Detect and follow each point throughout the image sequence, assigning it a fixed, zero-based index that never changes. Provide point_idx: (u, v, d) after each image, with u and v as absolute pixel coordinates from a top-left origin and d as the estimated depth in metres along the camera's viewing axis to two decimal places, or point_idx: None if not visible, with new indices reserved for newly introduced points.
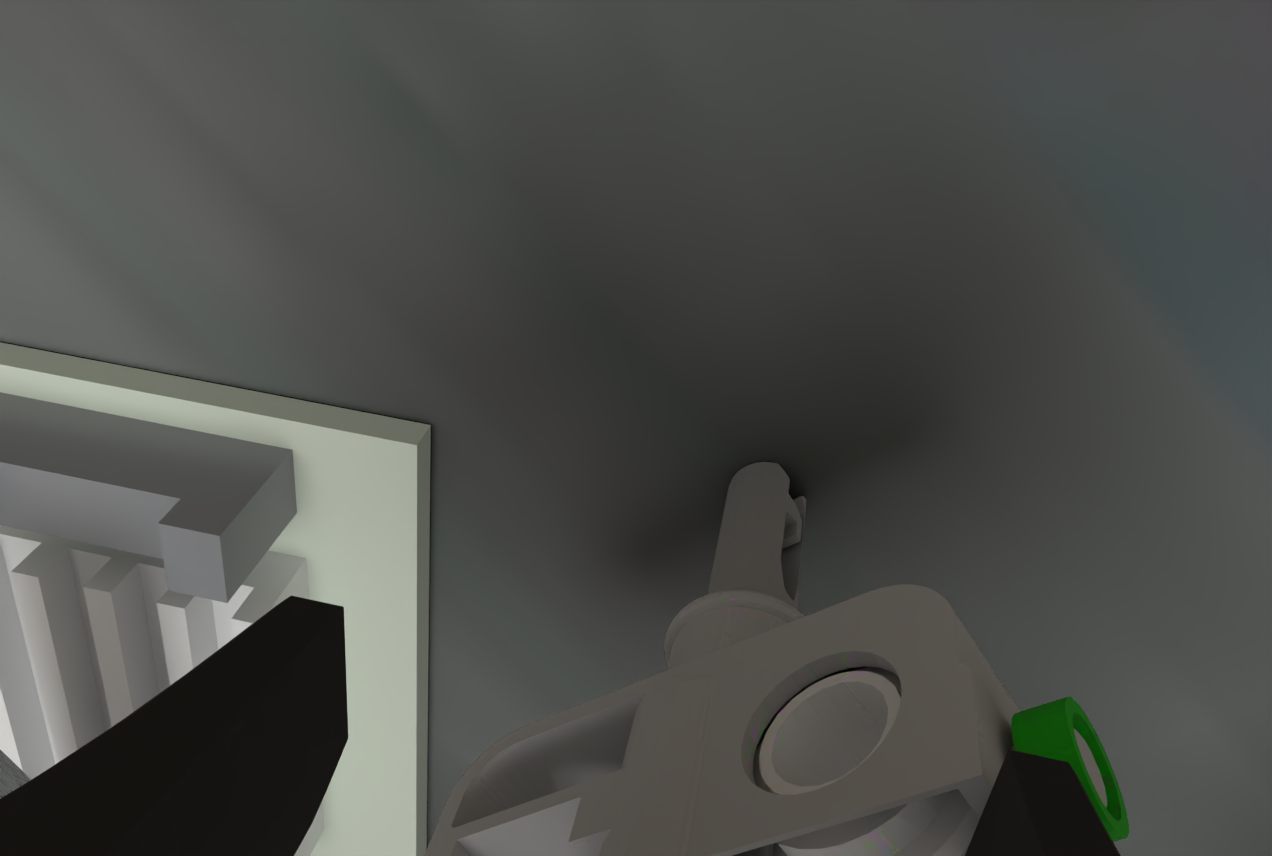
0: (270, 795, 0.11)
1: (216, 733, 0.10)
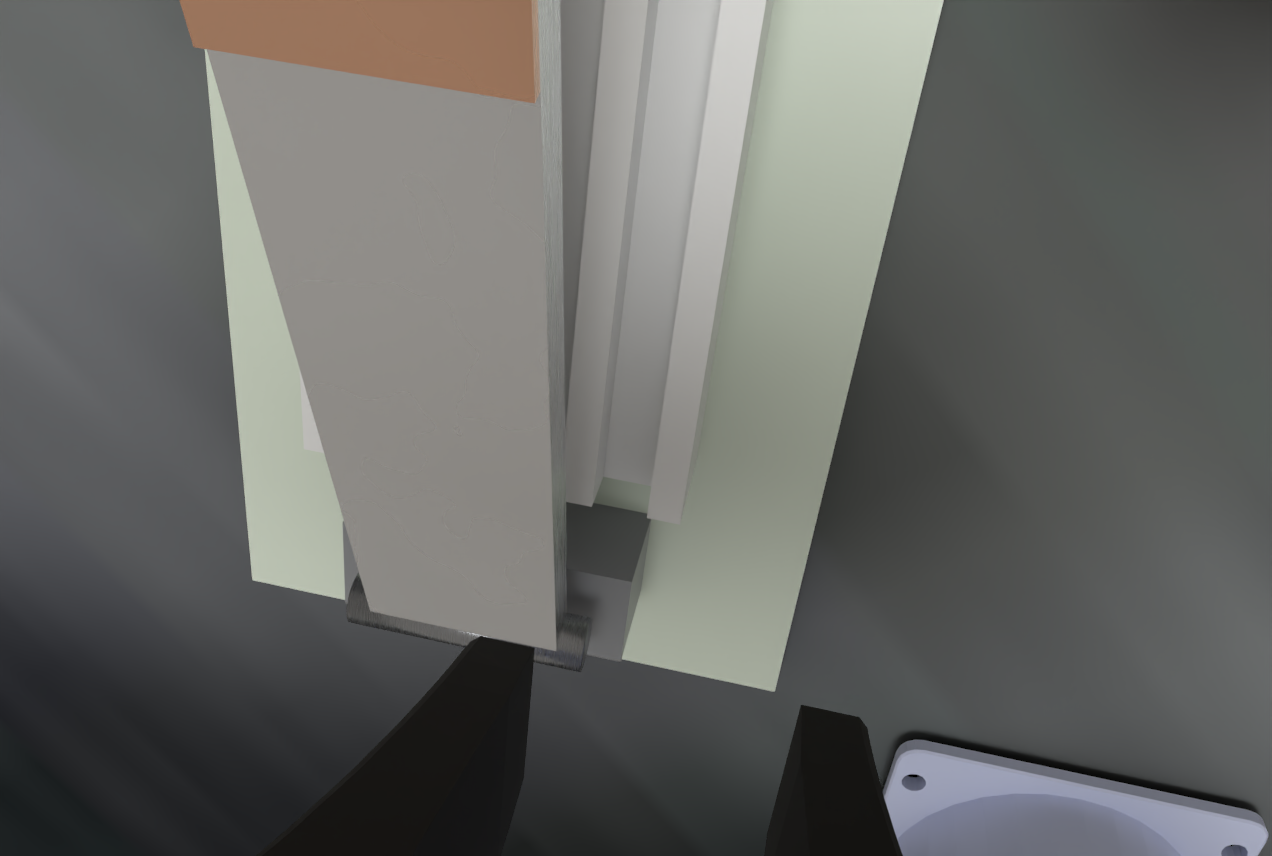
0: (476, 843, 0.11)
1: (449, 786, 0.09)
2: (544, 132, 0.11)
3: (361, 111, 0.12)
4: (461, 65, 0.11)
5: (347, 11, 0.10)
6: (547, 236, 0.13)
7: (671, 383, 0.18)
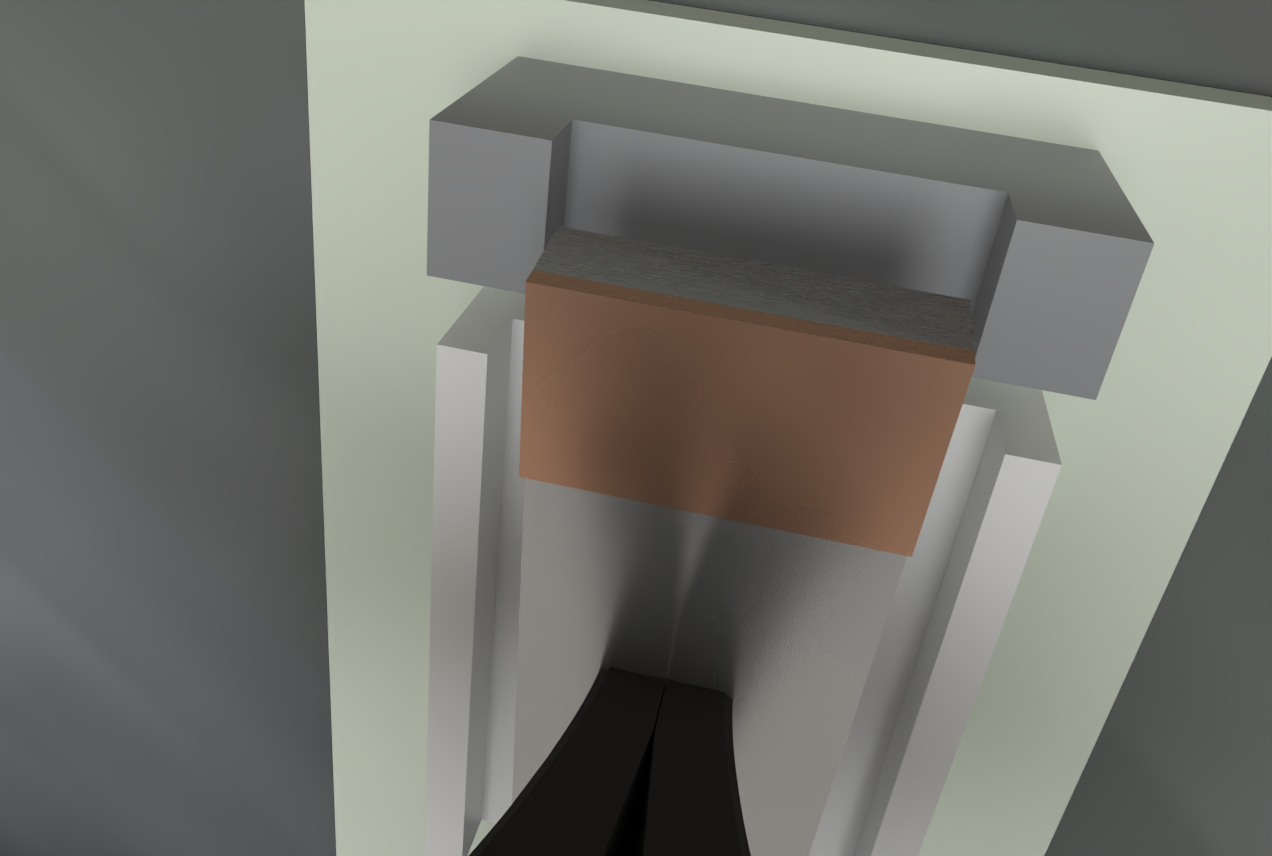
0: None
1: (611, 823, 0.09)
2: (897, 578, 0.10)
3: (688, 546, 0.10)
4: (835, 515, 0.09)
5: (718, 456, 0.09)
6: None
7: (882, 839, 0.15)
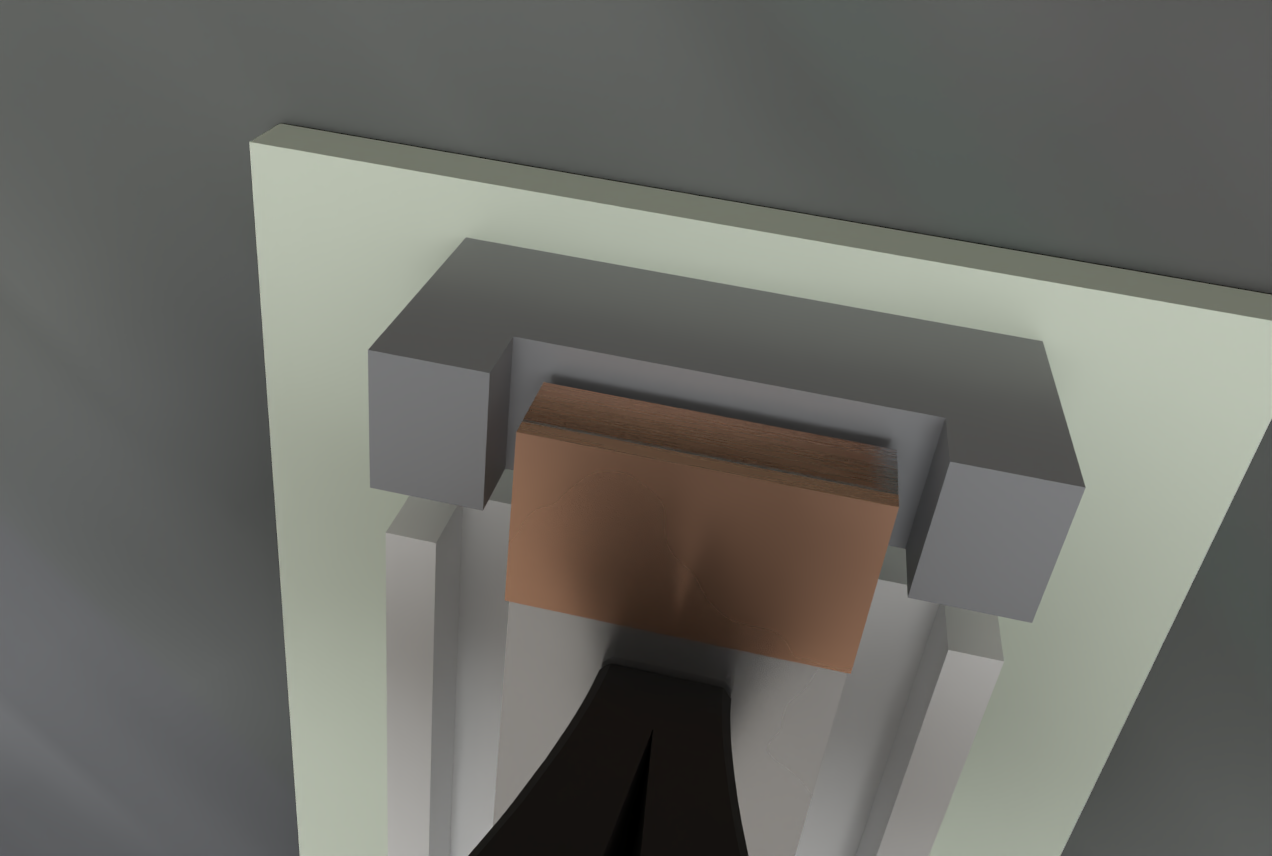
0: None
1: (610, 823, 0.09)
2: (840, 693, 0.11)
3: (654, 664, 0.12)
4: (783, 637, 0.11)
5: (680, 583, 0.11)
6: None
7: None
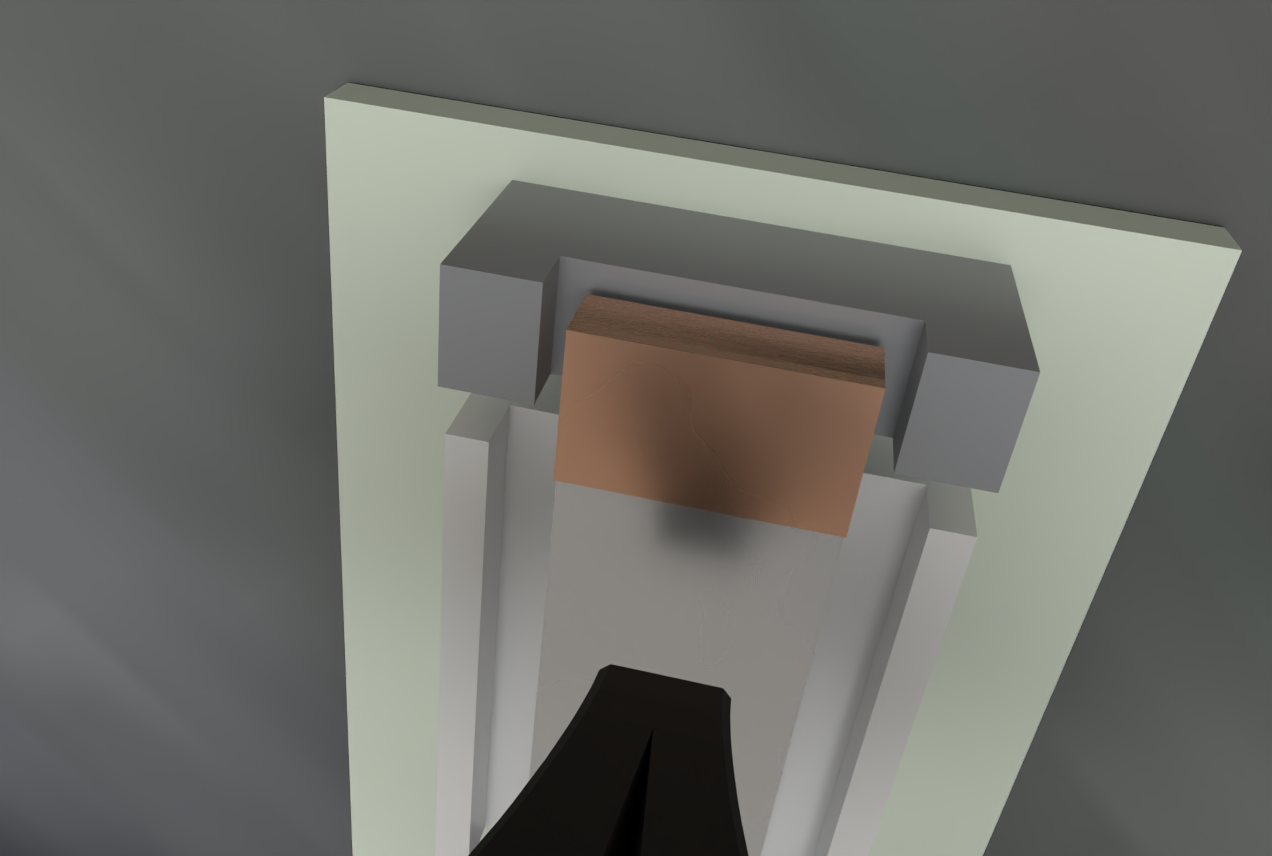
0: None
1: (611, 823, 0.09)
2: (837, 559, 0.13)
3: (679, 536, 0.14)
4: (789, 506, 0.13)
5: (703, 460, 0.13)
6: None
7: (836, 845, 0.17)
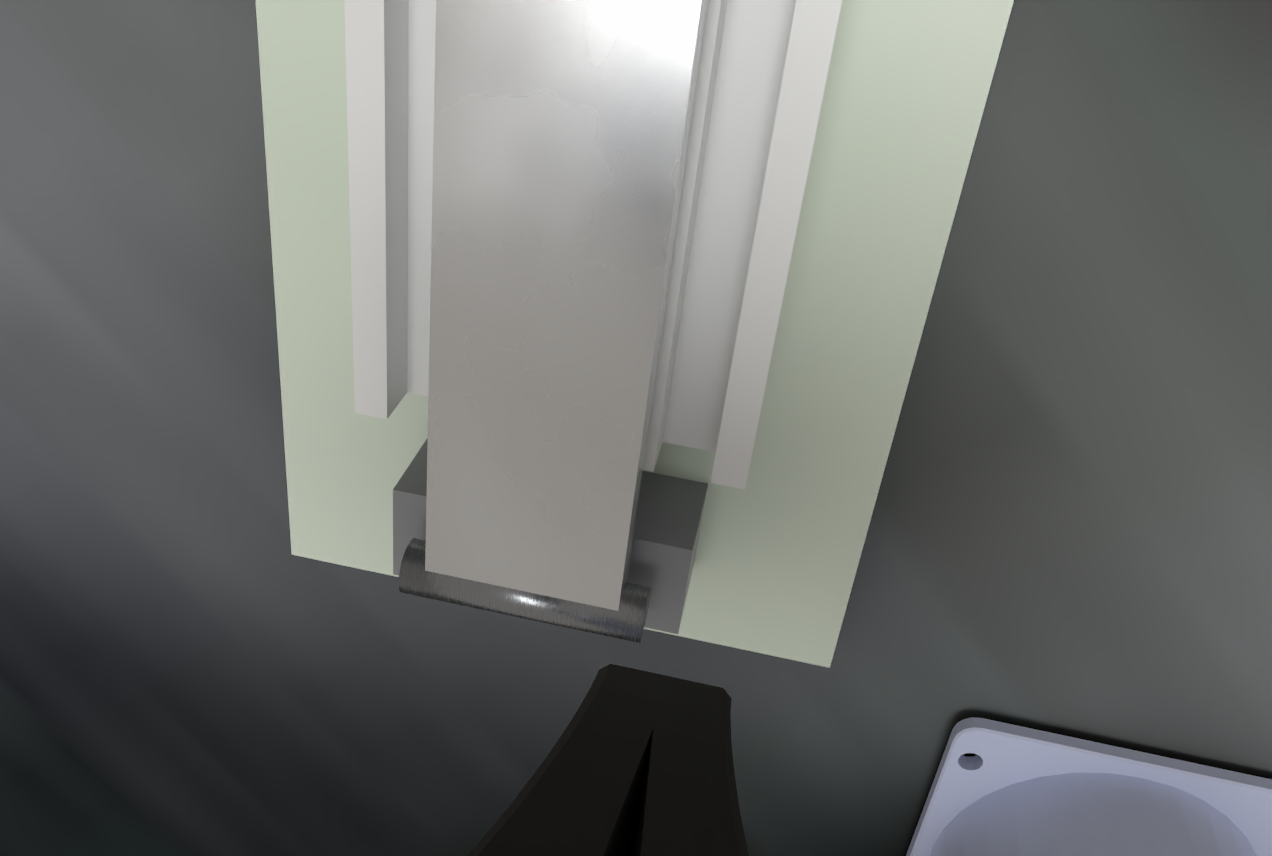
0: None
1: (611, 823, 0.09)
2: None
3: None
4: None
5: None
6: (697, 34, 0.15)
7: (741, 340, 0.18)
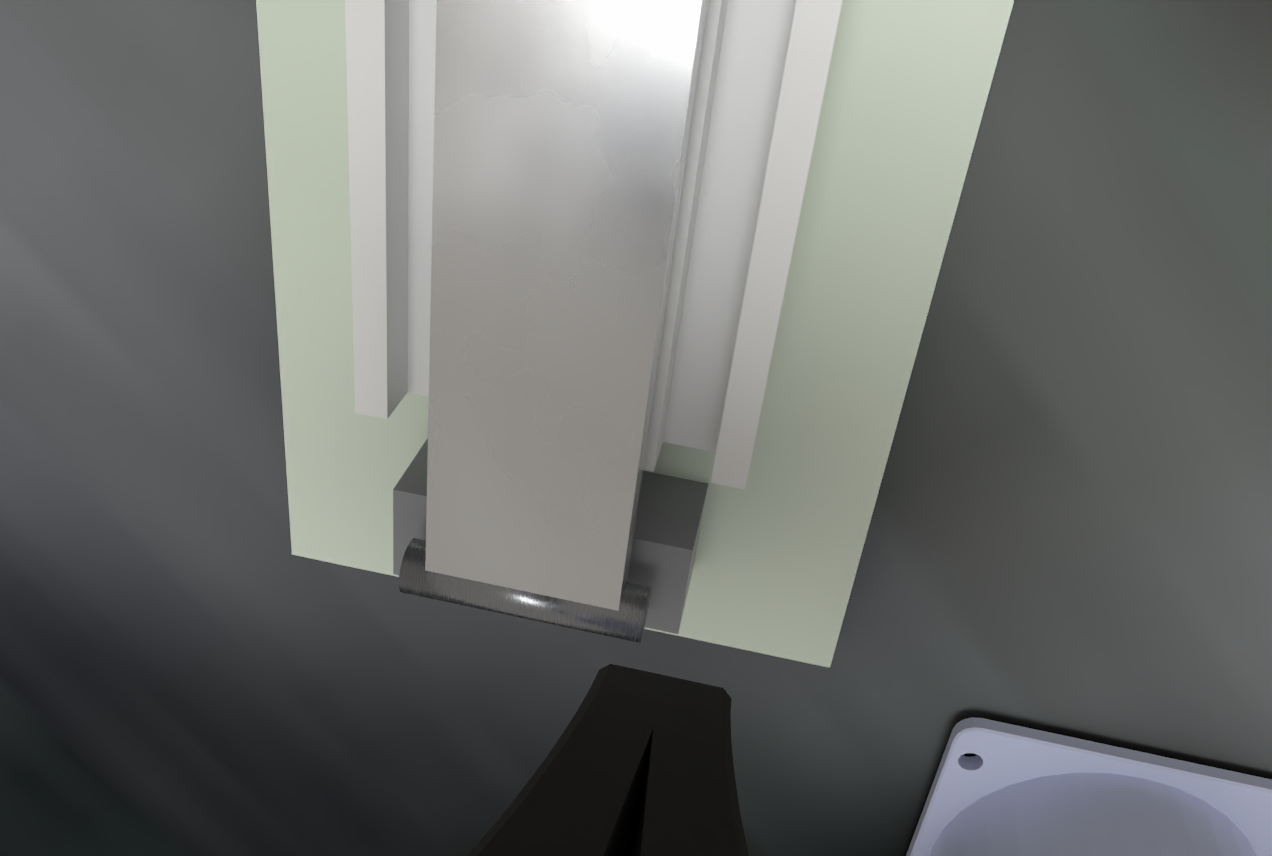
0: None
1: (611, 823, 0.09)
2: None
3: None
4: None
5: None
6: (697, 34, 0.15)
7: (741, 340, 0.18)
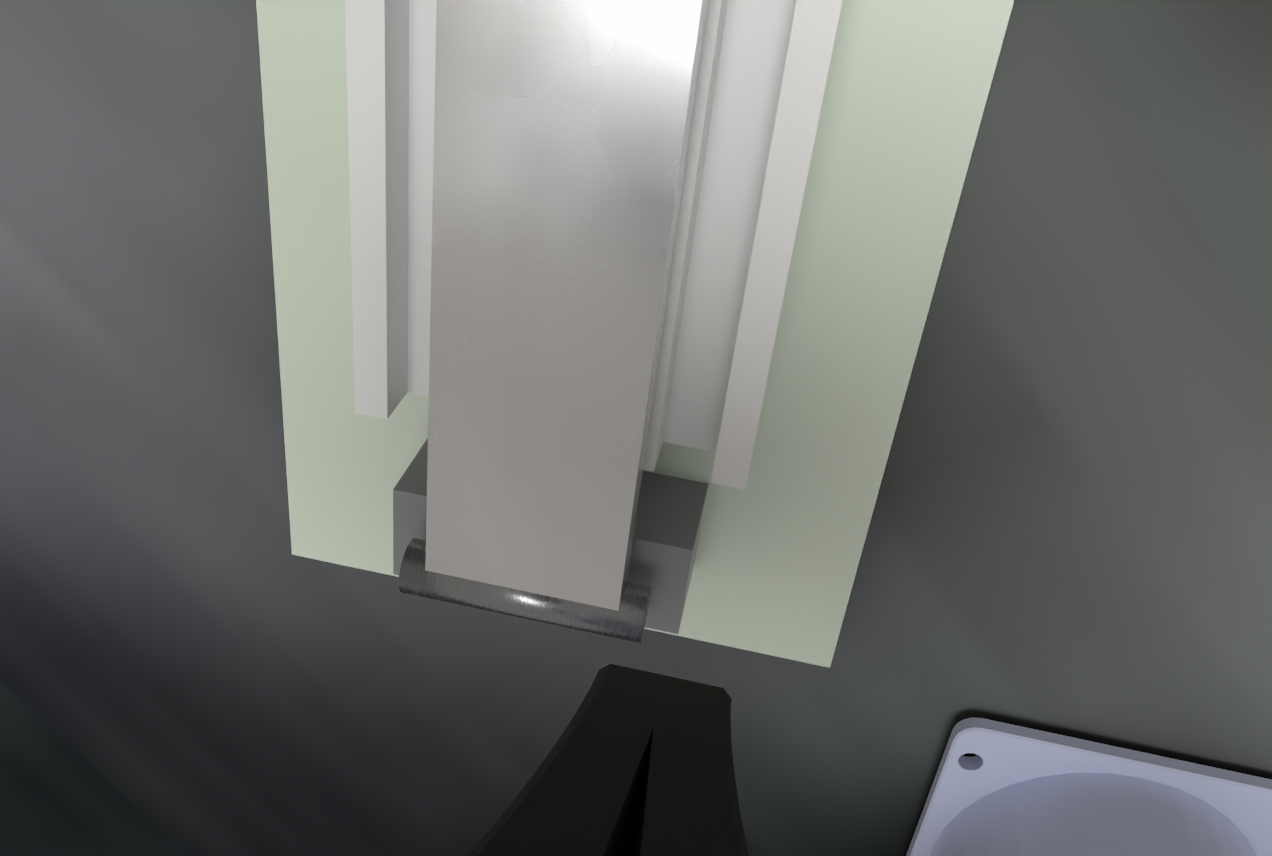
0: None
1: (611, 823, 0.09)
2: None
3: None
4: None
5: None
6: (697, 34, 0.15)
7: (741, 340, 0.18)
